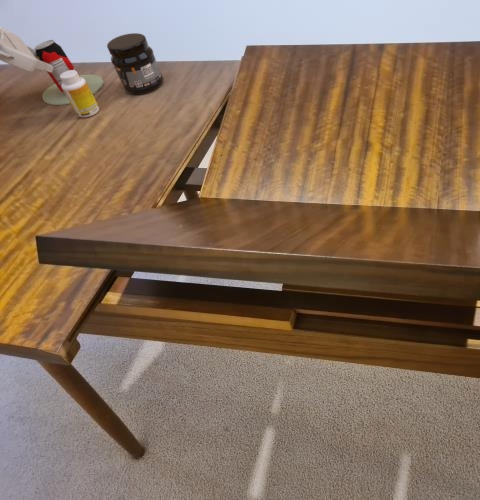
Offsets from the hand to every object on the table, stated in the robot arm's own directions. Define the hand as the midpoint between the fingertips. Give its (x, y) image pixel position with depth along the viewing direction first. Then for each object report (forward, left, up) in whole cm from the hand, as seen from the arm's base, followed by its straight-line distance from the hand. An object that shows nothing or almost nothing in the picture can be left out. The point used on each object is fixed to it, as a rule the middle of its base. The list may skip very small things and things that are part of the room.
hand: (47, 63), depth 118 cm
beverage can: (+3, +1, -8) cm, 8 cm away
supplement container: (+21, +8, -8) cm, 24 cm away
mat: (+2, +2, -8) cm, 9 cm away
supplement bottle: (+15, -7, -8) cm, 19 cm away
